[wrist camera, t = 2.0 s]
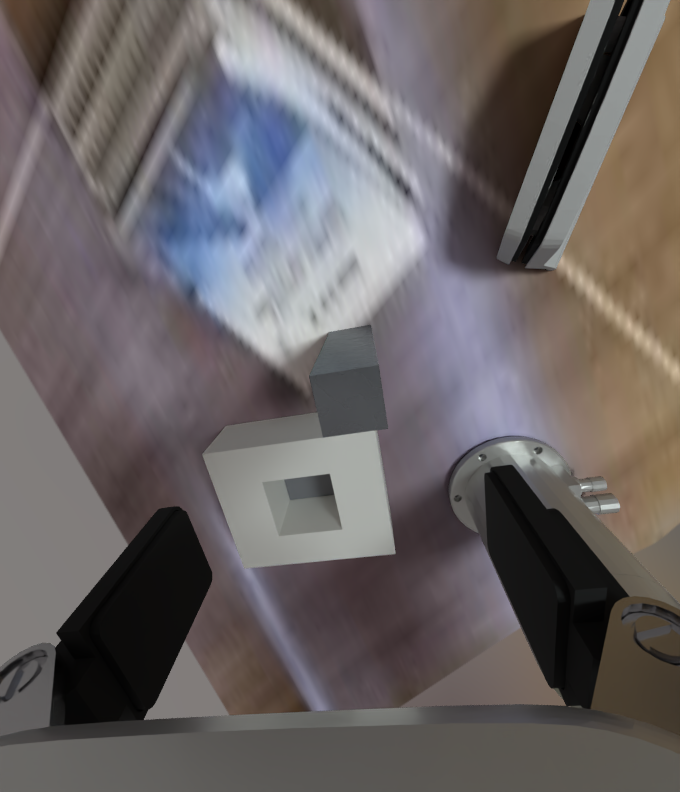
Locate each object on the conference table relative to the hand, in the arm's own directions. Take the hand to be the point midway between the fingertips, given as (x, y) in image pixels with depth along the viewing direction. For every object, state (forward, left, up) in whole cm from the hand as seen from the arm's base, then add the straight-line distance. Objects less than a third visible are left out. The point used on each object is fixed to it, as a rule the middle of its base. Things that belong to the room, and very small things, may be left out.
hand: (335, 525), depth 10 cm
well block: (+7, +13, -24) cm, 28 cm away
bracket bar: (0, 0, -24) cm, 24 cm away
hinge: (-18, -13, -24) cm, 33 cm away
